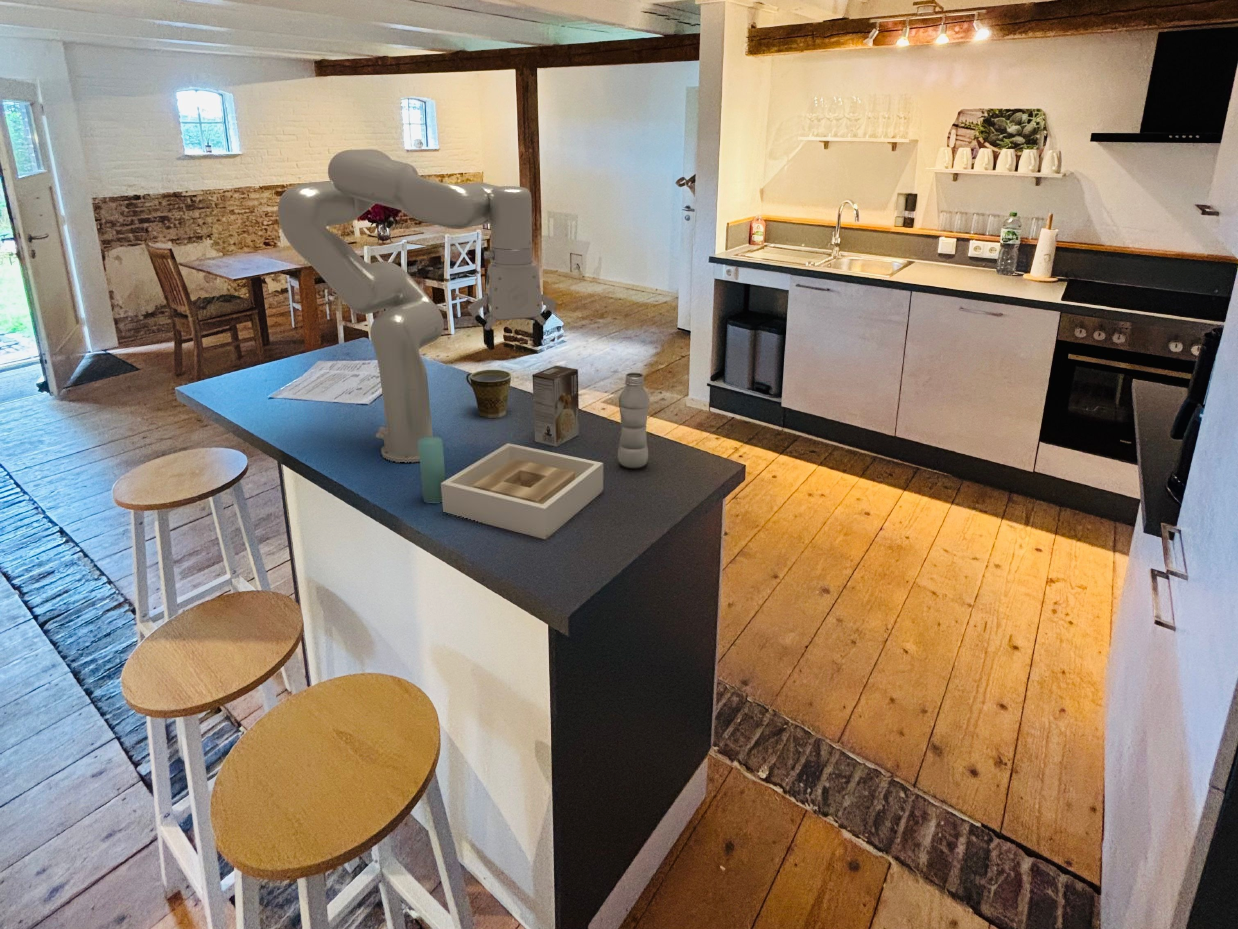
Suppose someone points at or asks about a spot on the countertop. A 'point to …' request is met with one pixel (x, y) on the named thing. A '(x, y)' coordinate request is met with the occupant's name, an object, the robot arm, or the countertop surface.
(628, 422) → the plastic bottle
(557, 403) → the coffee box
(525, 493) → the bore plate
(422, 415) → the robot arm
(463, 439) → the countertop surface
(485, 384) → the ceramic cup
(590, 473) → the open box
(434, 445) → the peg
